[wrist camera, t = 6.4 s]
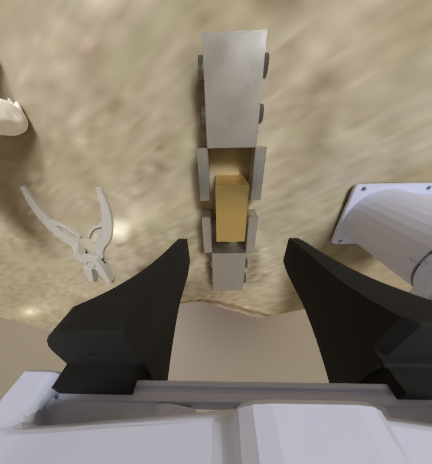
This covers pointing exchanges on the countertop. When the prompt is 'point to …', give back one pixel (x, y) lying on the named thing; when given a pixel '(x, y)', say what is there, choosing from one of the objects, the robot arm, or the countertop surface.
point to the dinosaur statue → (12, 118)
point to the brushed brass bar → (231, 207)
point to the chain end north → (229, 254)
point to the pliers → (89, 259)
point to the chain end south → (233, 100)
